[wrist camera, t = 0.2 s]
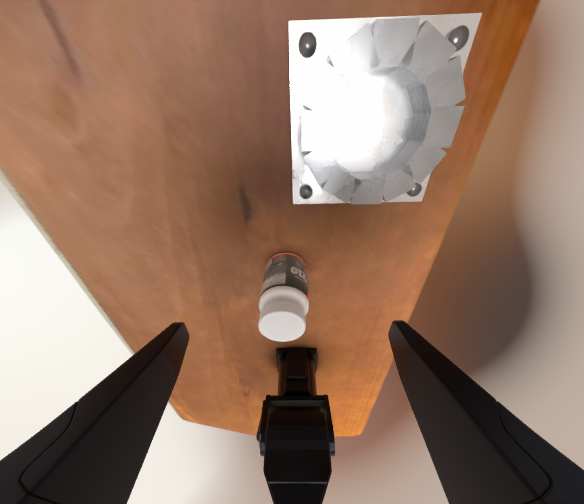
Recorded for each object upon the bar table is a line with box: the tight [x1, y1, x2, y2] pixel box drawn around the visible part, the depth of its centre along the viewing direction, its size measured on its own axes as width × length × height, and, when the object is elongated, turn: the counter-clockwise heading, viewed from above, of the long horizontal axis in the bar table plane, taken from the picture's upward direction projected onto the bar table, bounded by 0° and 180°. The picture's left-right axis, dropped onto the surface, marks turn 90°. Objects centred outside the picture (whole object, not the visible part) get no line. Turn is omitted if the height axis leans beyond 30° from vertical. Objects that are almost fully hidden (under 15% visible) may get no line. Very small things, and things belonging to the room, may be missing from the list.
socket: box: [289, 13, 482, 205], centre depth 15 cm, size 12×12×3 cm
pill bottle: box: [259, 253, 309, 342], centre depth 21 cm, size 5×5×8 cm
